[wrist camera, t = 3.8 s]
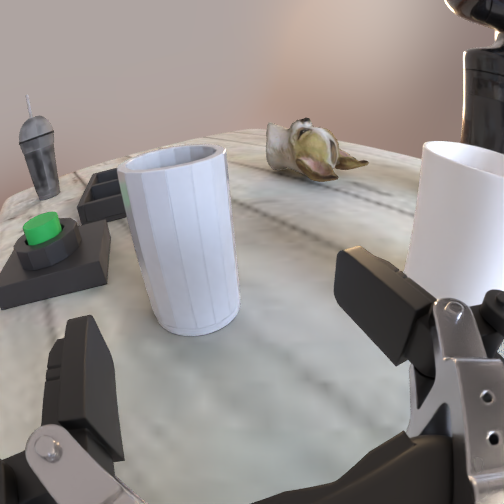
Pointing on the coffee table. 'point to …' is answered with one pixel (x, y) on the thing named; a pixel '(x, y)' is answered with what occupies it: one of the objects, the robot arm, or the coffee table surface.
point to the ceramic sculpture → (307, 151)
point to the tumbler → (184, 235)
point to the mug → (458, 223)
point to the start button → (42, 228)
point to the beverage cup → (40, 154)
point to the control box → (56, 264)
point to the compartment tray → (102, 198)
